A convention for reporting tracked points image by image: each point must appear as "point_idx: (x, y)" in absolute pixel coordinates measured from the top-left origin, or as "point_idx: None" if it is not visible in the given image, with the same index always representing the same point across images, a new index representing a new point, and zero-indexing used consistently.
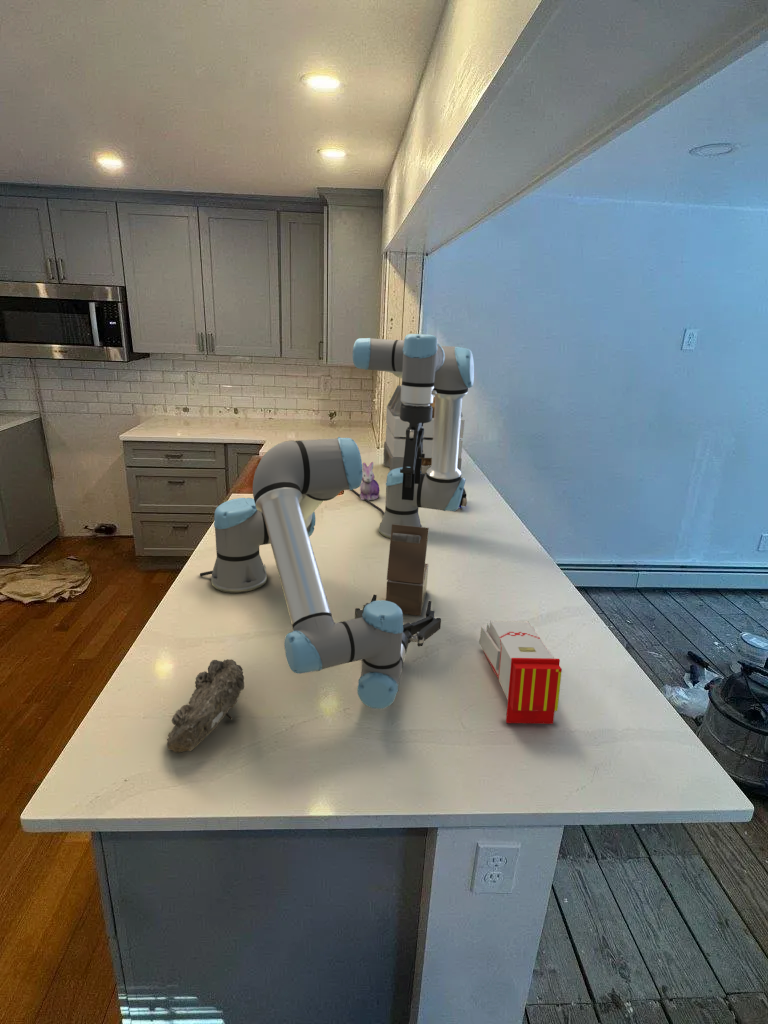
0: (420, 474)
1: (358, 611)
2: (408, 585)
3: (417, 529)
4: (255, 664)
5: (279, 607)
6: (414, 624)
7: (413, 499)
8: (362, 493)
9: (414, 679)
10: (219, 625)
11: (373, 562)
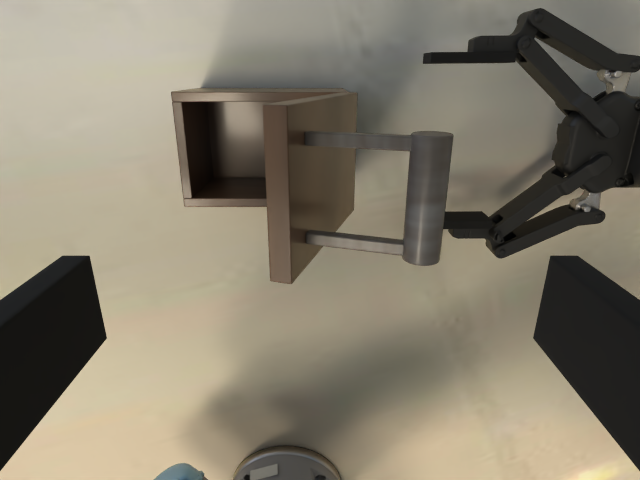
0: (31, 300)
1: (512, 248)
2: None
3: (294, 160)
4: None
5: (374, 393)
6: (574, 90)
7: (554, 256)
8: None
9: None
10: (458, 459)
11: None
